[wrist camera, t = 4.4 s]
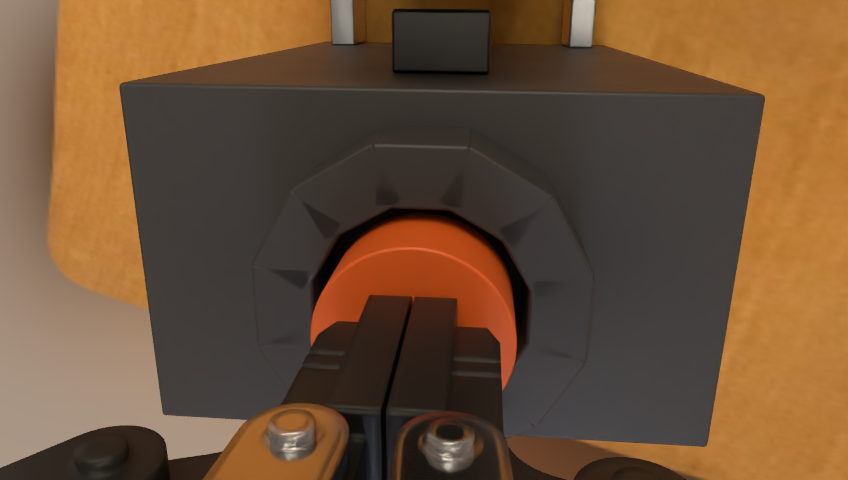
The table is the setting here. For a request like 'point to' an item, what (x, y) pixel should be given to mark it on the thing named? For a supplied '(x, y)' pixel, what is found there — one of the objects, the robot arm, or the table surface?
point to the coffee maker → (460, 200)
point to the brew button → (424, 276)
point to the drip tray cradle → (448, 35)
